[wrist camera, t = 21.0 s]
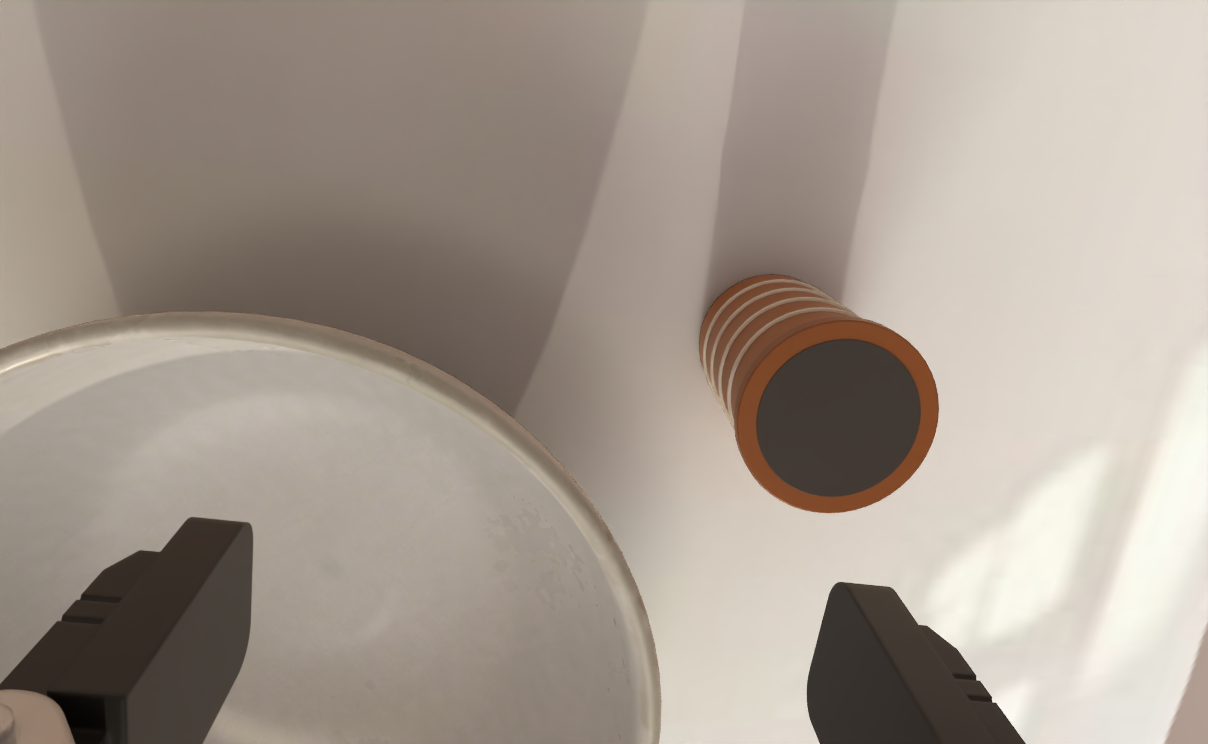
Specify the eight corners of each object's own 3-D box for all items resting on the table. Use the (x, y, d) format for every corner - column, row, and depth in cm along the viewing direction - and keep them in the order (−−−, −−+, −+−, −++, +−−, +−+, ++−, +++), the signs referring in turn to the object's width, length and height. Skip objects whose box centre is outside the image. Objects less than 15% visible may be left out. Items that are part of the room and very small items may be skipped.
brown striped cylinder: (857, 279, 37) (823, 423, 38) (707, 256, 36) (679, 403, 38) (963, 336, 27) (911, 525, 29) (760, 306, 26) (719, 500, 28)
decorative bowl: (755, 491, 39) (835, 655, 28) (411, 877, 45) (358, 1147, 33) (227, 103, 34) (51, 105, 22) (-94, 600, 39) (-368, 811, 28)
